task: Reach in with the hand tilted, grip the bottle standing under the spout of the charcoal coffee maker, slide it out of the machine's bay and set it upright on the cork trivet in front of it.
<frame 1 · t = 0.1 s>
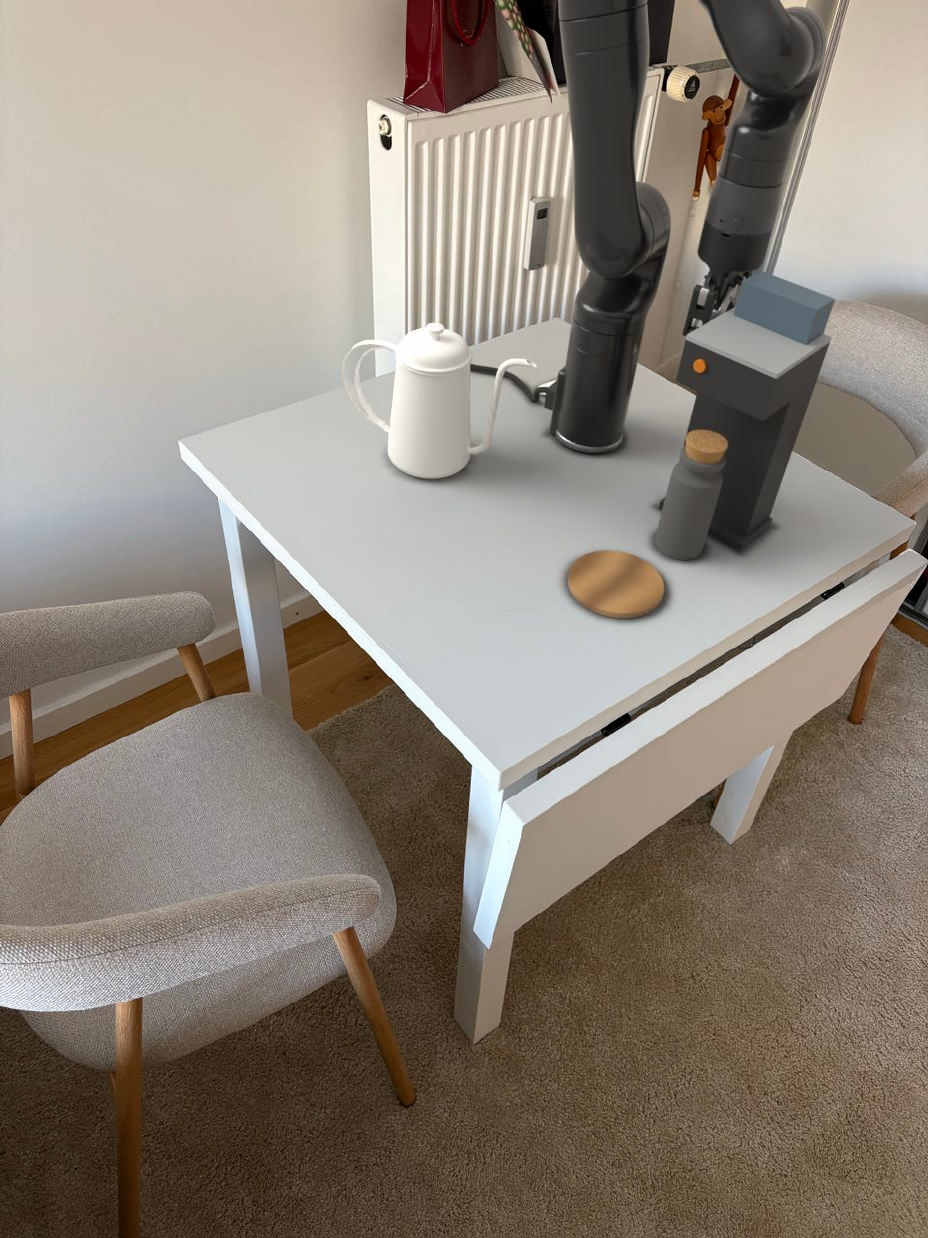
hand: (705, 351, 120), 17 cm above the table, tool pointing down, fingers open, 8 cm apart
coffeepot: (432, 460, 130), on the table
trivet: (615, 585, 114), on the table
coffee maker: (678, 545, 120), on the table
bottle: (678, 546, 120), on the table
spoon: (582, 377, 148), on the table
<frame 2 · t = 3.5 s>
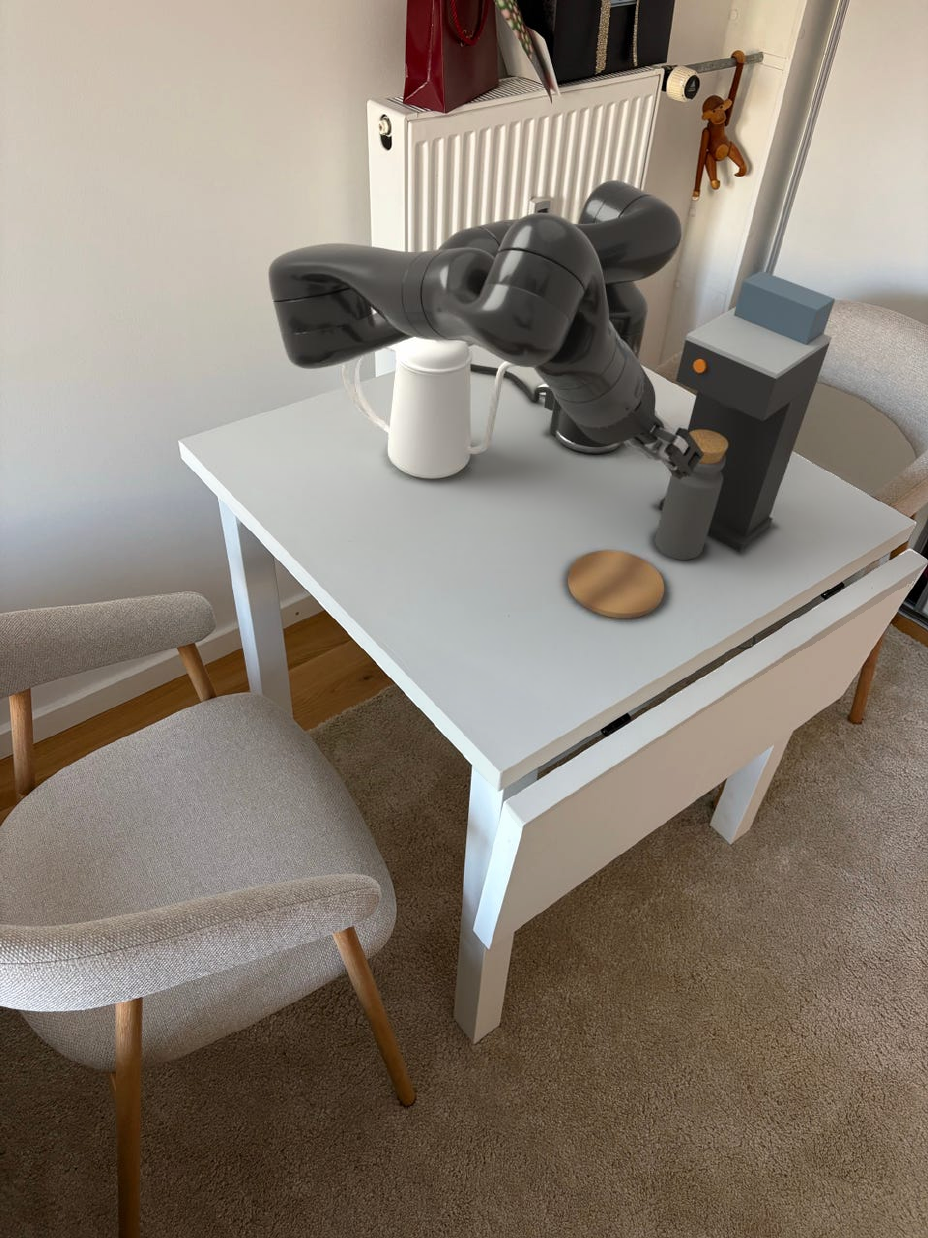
hand: (648, 451, 100), 19 cm above the table, tool tilted 45°, fingers open, 8 cm apart
nothing on the table moved.
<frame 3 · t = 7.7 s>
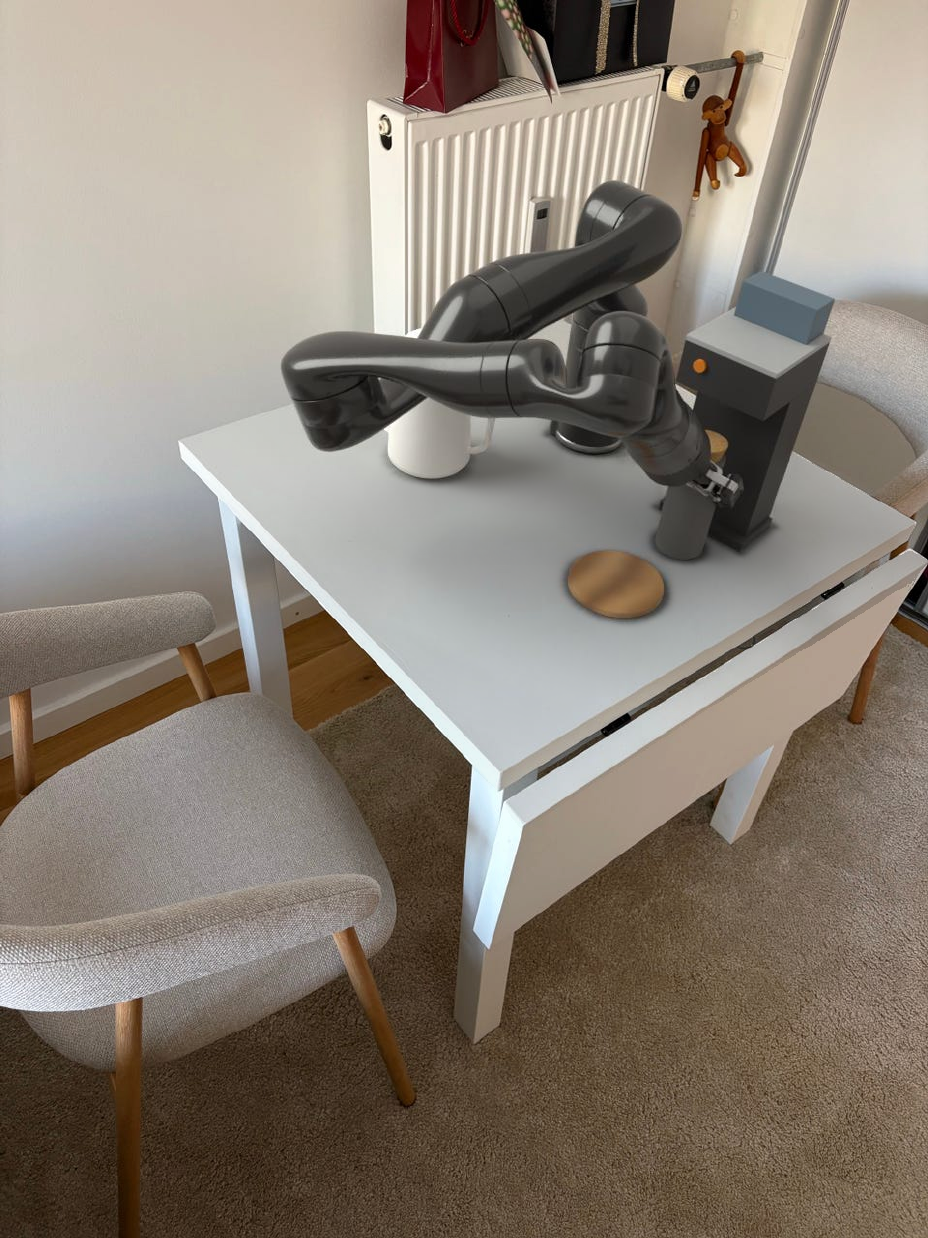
hand: (700, 487, 116), 8 cm above the table, tool tilted 45°, fingers closed on bottle, 6 cm apart
bottle: (678, 546, 120), on the table, touching gripper
everything else where it was.
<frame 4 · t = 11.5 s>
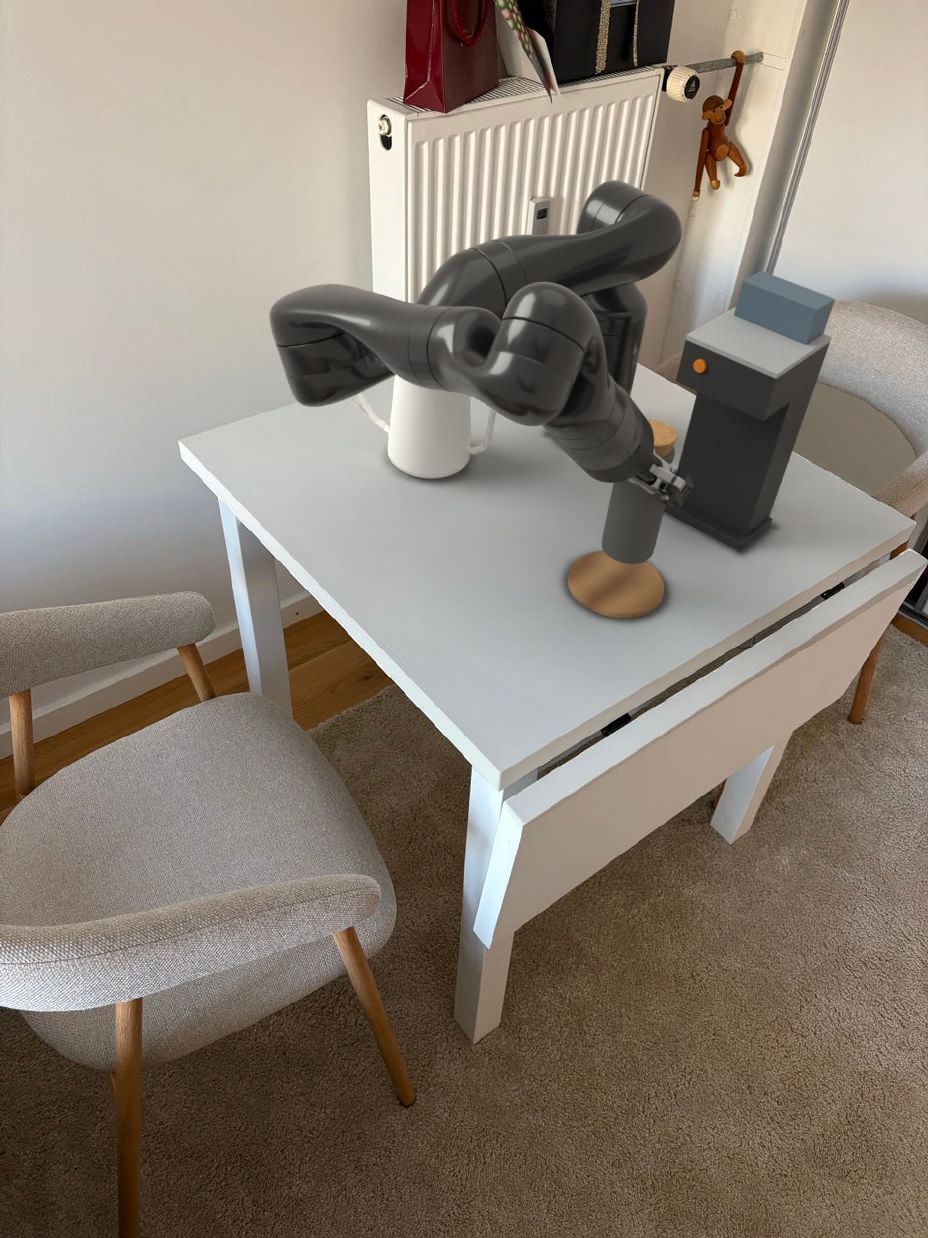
hand: (649, 484, 105), 14 cm above the table, tool tilted 45°, fingers closed on bottle, 6 cm apart
bottle: (626, 549, 109), point 6 cm above the table, touching gripper
everything else where it was.
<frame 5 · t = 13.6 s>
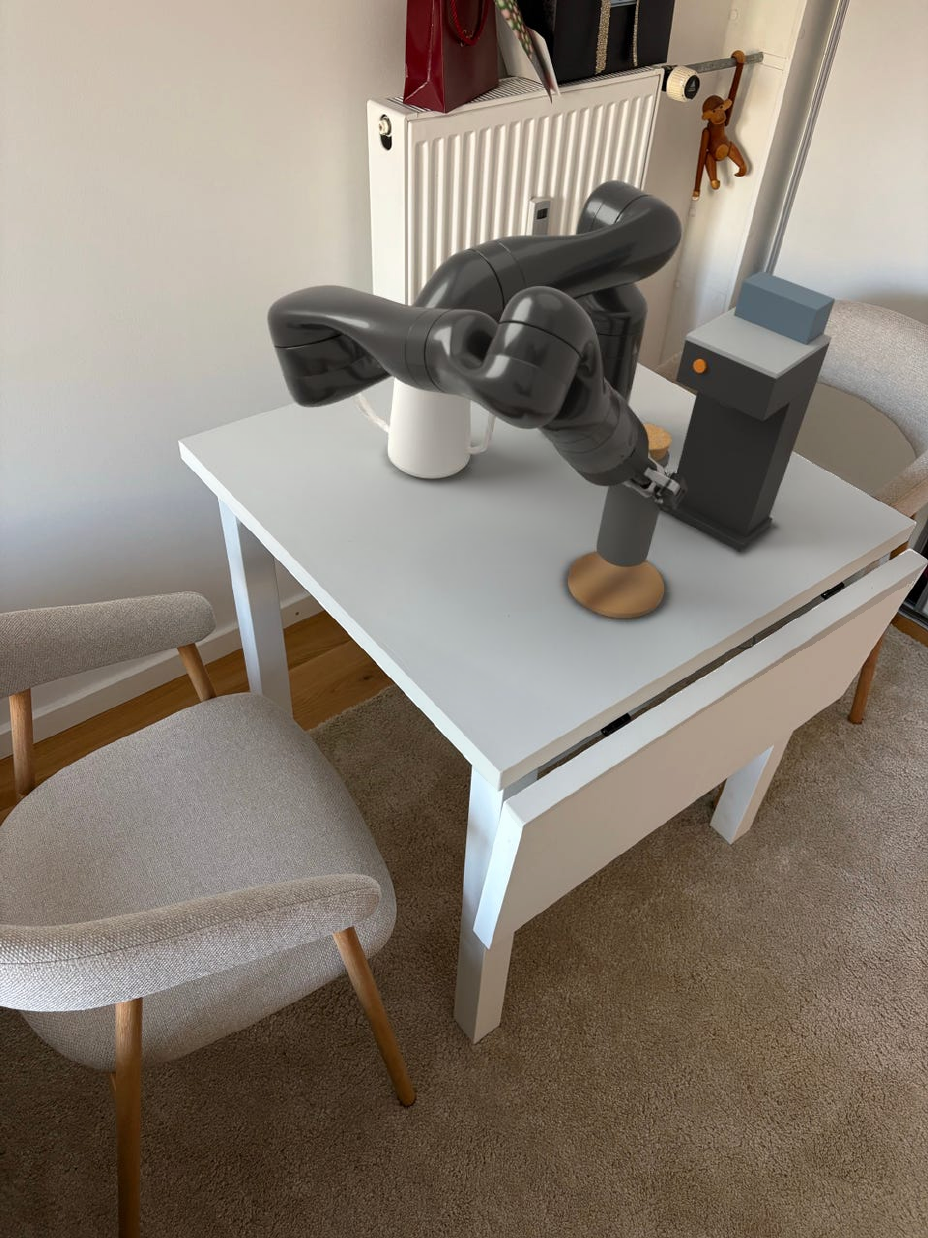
hand: (644, 487, 106), 13 cm above the table, tool tilted 45°, fingers closed on bottle, 6 cm apart
bottle: (621, 552, 110), point 5 cm above the table, touching gripper
everything else where it was.
when the fingers open (9 cm above the table, at t = 15.4 s): bottle stays where it is, resting on trivet.
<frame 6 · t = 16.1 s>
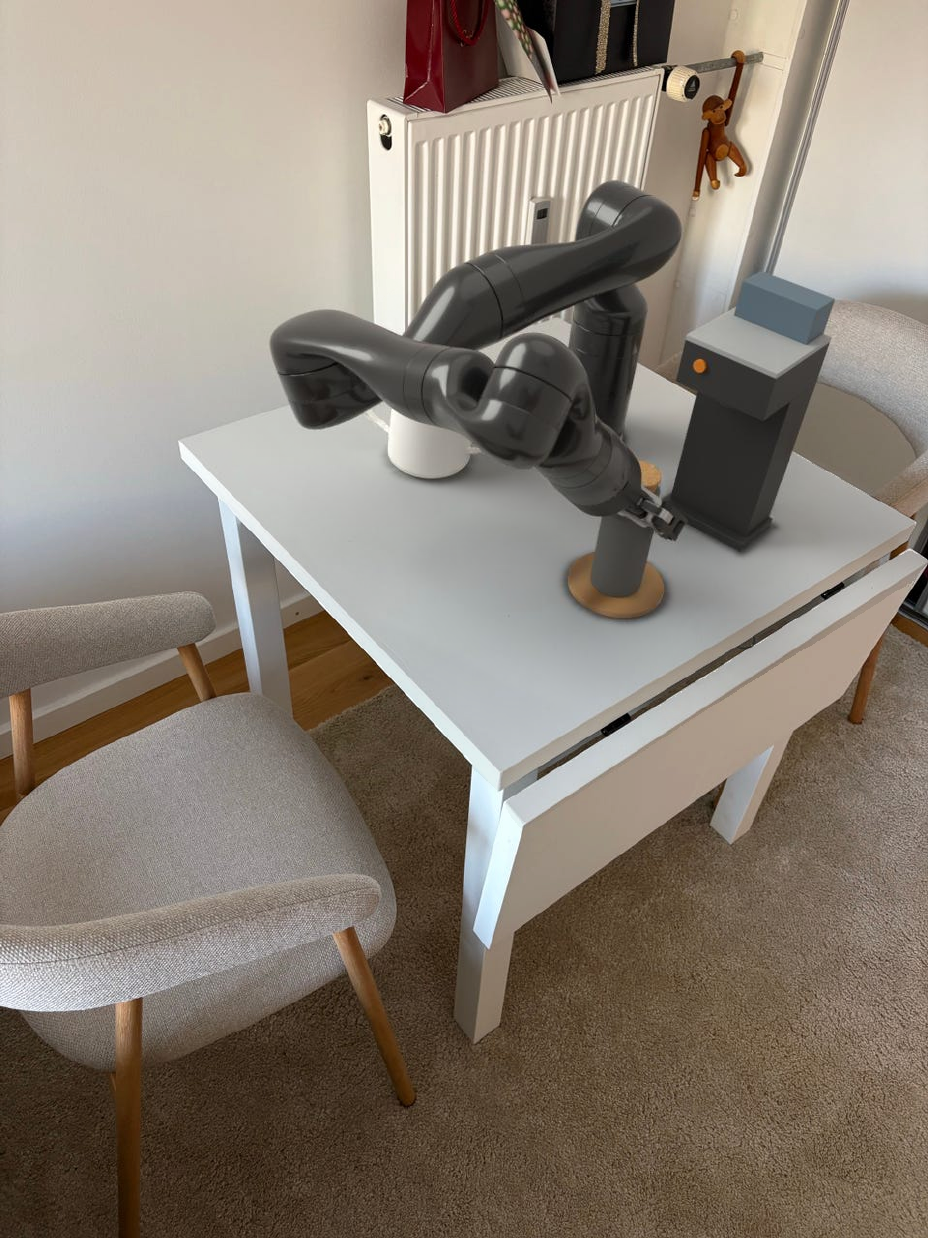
hand: (637, 513, 108), 10 cm above the table, tool tilted 45°, fingers open, 8 cm apart
bottle: (614, 582, 113), point 1 cm above the table, touching trivet
everything else where it was.
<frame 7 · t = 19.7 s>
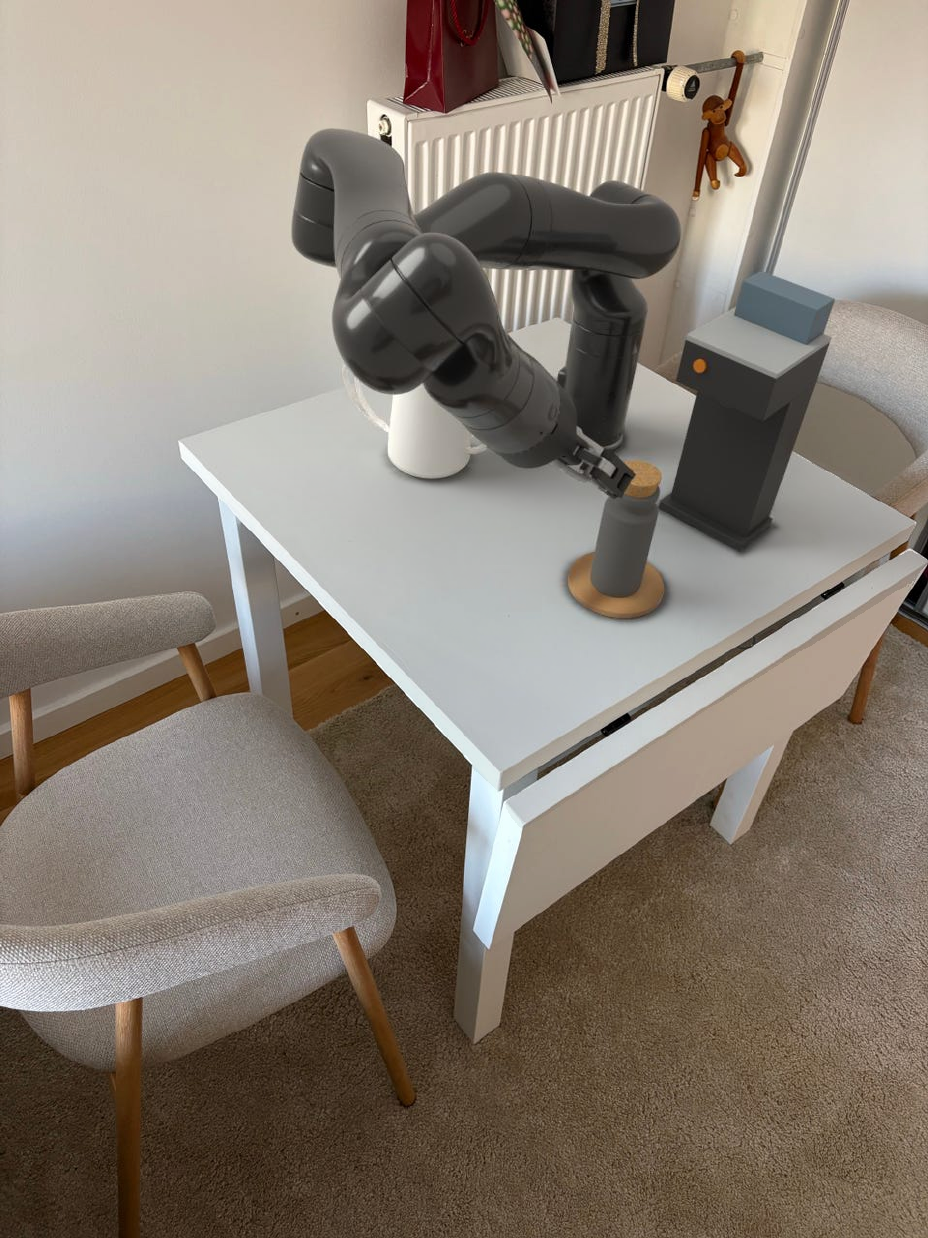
hand: (581, 468, 92), 22 cm above the table, tool tilted 45°, fingers open, 8 cm apart
nothing on the table moved.
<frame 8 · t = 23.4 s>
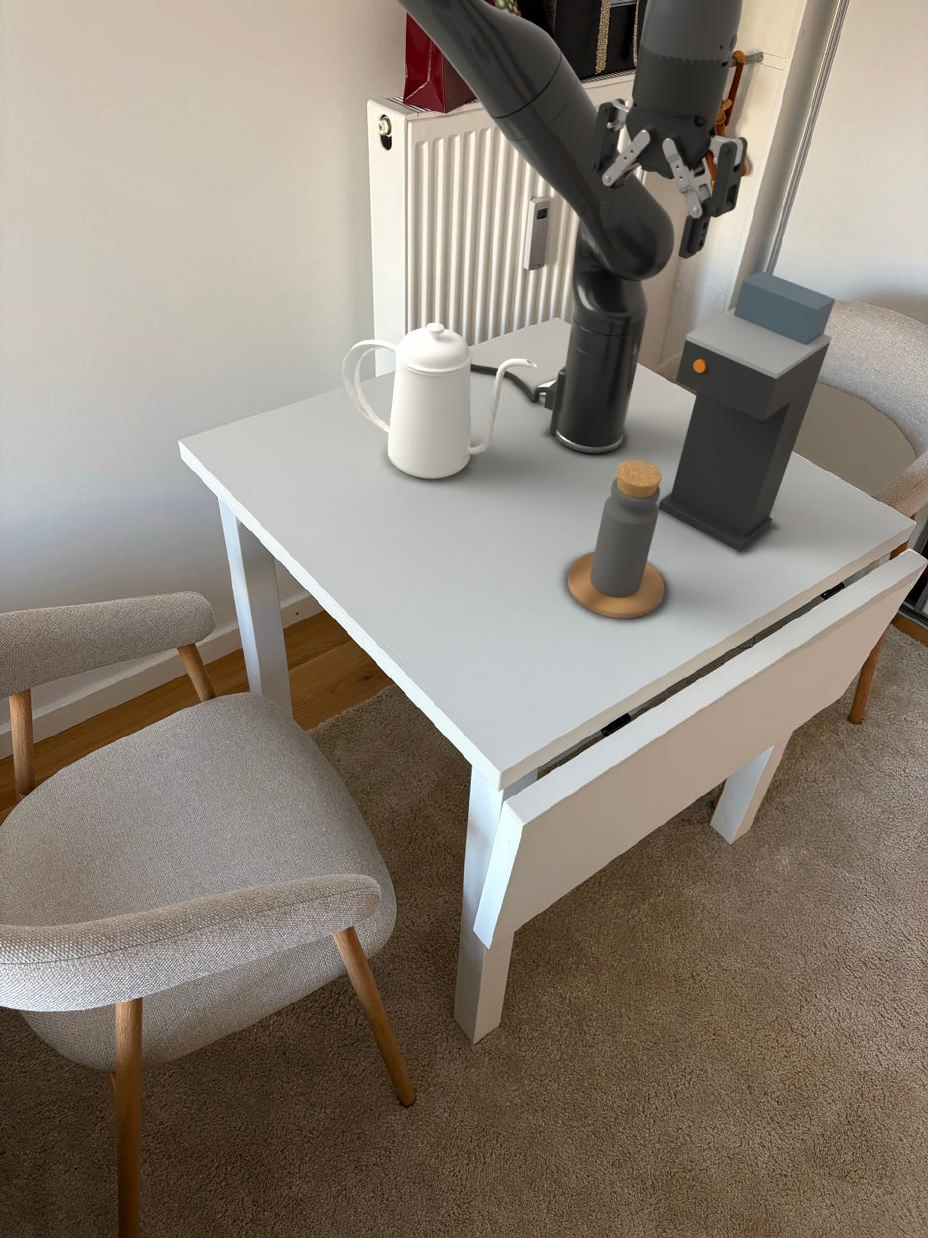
hand: (648, 240, 91), 38 cm above the table, tool pointing down, fingers open, 8 cm apart
nothing on the table moved.
at the end: bottle inside the target area on the trivet (0.2 cm from its centre), point 0.6 cm above the trivet's base; bottle tilted 0°; the gripper is holding nothing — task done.
